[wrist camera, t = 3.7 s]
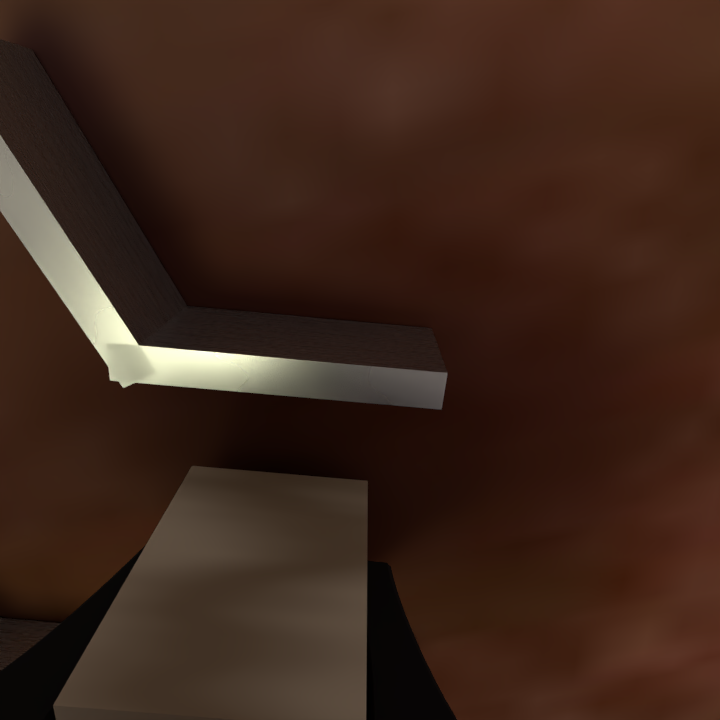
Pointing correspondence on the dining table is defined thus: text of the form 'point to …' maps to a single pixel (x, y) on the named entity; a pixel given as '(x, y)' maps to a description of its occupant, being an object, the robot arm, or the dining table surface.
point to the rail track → (169, 291)
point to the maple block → (237, 608)
